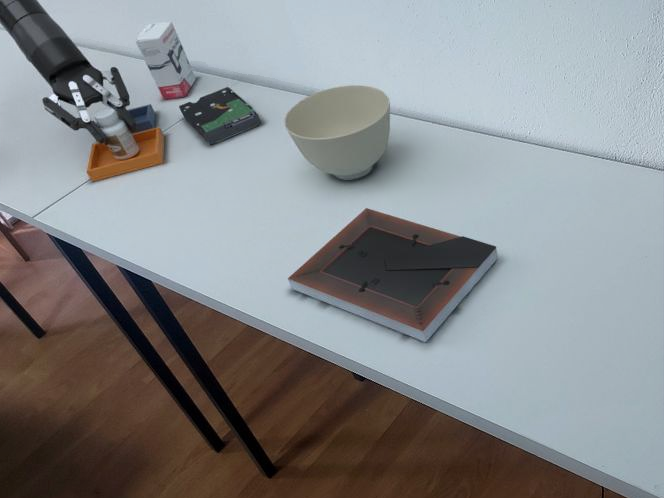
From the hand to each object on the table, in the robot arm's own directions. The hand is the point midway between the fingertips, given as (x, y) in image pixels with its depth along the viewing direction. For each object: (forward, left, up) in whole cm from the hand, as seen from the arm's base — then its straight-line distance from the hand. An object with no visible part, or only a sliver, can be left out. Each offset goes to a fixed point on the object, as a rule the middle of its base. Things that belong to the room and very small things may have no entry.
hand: (120, 135), depth 110 cm
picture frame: (+36, -51, -5) cm, 63 cm away
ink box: (+8, +26, -5) cm, 28 cm away
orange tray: (-1, +1, -5) cm, 5 cm away
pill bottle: (-1, +2, -4) cm, 5 cm away
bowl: (+36, -23, -5) cm, 43 cm away
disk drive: (+16, +6, -5) cm, 18 cm away
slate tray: (-2, +14, -5) cm, 15 cm away
